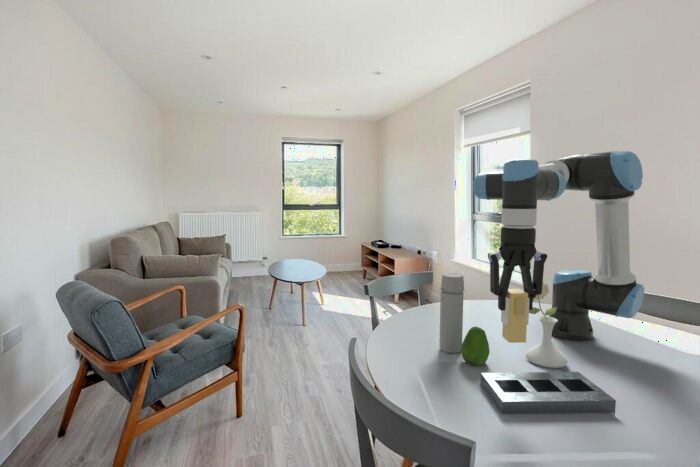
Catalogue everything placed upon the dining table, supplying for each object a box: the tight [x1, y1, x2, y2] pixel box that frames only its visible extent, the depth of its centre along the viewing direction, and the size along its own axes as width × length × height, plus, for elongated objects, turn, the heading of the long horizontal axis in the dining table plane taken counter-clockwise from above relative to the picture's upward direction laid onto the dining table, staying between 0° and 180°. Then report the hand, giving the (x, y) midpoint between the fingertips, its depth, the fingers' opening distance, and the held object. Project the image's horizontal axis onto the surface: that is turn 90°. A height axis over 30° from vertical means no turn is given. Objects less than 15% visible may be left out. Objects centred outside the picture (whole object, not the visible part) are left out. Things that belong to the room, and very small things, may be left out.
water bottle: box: [439, 272, 466, 355], centre depth 125 cm, size 9×8×25 cm
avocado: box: [460, 326, 491, 367], centre depth 113 cm, size 8×8×12 cm
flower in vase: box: [524, 281, 569, 369], centre depth 114 cm, size 13×11×25 cm
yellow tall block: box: [501, 288, 528, 344], centre depth 92 cm, size 4×5×12 cm
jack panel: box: [480, 371, 617, 417], centre depth 94 cm, size 26×14×4 cm, turn 91°
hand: (514, 322), depth 92 cm, fingers closed on yellow tall block, 4 cm apart
